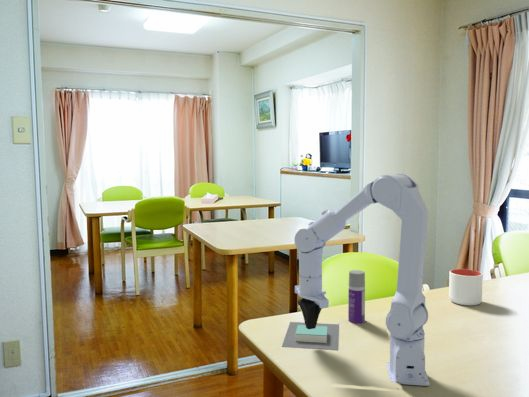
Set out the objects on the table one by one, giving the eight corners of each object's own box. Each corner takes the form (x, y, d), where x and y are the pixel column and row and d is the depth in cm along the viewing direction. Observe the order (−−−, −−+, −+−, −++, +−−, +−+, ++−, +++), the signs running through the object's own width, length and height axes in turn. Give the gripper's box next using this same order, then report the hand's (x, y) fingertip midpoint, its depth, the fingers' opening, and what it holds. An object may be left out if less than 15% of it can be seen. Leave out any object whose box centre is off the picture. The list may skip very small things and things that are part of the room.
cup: (442, 300, 153) (442, 270, 153) (463, 296, 158) (464, 267, 157) (466, 308, 144) (467, 277, 144) (488, 304, 149) (489, 274, 148)
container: (346, 323, 132) (346, 272, 130) (351, 318, 136) (351, 269, 135) (362, 326, 129) (362, 274, 128) (366, 321, 134) (367, 271, 132)
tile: (326, 335, 116) (327, 326, 122) (295, 333, 118) (297, 324, 124) (326, 342, 116) (327, 333, 123) (295, 341, 118) (297, 332, 124)
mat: (338, 352, 112) (338, 350, 112) (281, 349, 114) (281, 346, 114) (339, 326, 130) (339, 324, 129) (290, 323, 132) (290, 321, 132)
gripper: (339, 280, 109) (339, 335, 110) (311, 267, 122) (311, 316, 124) (313, 283, 106) (313, 339, 107) (287, 270, 120) (287, 320, 121)
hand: (310, 327), depth 115 cm, fingers closed
